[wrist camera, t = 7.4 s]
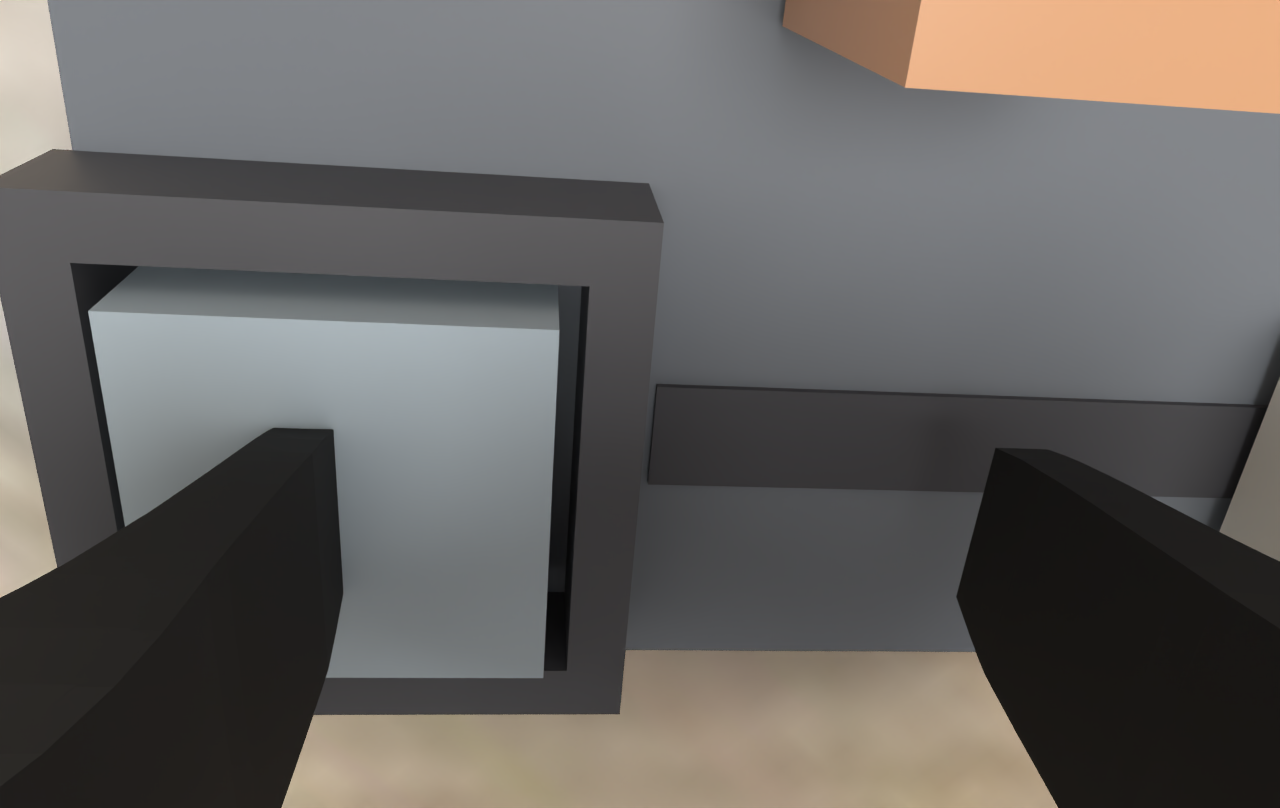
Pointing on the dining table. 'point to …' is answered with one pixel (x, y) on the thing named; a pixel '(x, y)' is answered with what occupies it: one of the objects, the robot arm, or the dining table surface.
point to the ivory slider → (1259, 489)
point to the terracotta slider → (1062, 47)
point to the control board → (678, 289)
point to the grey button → (362, 439)
